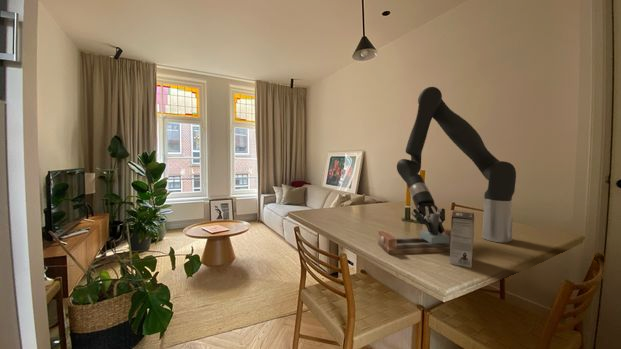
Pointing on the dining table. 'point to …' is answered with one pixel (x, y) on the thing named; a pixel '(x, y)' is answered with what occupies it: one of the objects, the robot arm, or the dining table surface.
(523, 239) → the dining table surface
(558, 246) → the dining table surface
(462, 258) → the coffee box
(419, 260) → the dining table surface
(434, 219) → the grey post blue base
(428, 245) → the rail
